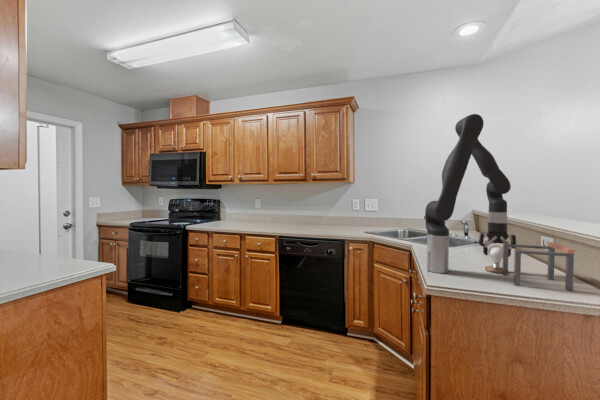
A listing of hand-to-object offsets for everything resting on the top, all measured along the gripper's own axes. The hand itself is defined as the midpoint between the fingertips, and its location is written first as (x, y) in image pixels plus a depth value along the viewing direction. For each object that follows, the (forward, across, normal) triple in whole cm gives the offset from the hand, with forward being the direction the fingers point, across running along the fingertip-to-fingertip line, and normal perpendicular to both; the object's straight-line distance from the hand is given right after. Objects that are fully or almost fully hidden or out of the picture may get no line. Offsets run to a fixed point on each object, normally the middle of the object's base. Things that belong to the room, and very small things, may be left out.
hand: (496, 255), depth 131 cm
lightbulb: (+6, 0, 0) cm, 6 cm away
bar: (-7, +18, -13) cm, 23 cm away
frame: (+7, +10, -13) cm, 18 cm away
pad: (+7, 0, 0) cm, 7 cm away
